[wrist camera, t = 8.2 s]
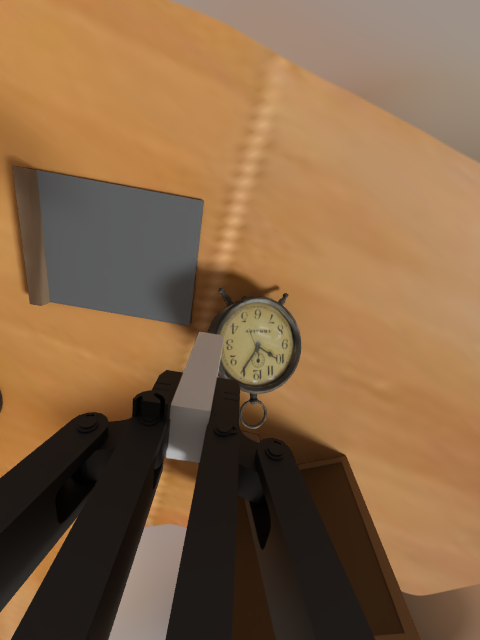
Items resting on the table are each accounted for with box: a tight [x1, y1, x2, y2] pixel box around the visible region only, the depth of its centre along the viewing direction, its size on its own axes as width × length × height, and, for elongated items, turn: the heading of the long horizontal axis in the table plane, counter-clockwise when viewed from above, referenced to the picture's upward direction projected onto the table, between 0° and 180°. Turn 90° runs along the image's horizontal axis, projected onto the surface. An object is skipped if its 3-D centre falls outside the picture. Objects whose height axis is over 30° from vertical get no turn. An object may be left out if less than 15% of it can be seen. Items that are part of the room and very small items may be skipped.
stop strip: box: [12, 166, 50, 306], centre depth 34 cm, size 2×16×2 cm, turn 171°
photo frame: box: [232, 431, 421, 640], centre depth 36 cm, size 15×22×25 cm
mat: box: [37, 170, 204, 326], centre depth 35 cm, size 20×16×1 cm
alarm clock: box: [208, 288, 301, 429], centre depth 34 cm, size 11×5×16 cm
